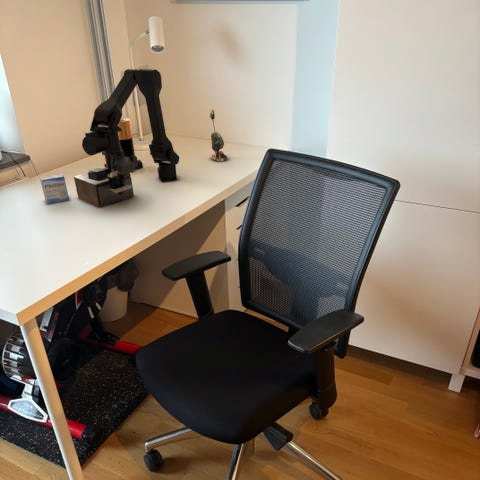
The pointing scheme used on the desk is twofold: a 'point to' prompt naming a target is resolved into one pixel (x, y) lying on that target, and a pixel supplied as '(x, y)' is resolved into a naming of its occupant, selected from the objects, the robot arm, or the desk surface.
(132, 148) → the battery
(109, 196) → the drawer
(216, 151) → the plant with pod
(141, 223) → the desk surface
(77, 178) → the cabinet
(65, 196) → the medicine box
